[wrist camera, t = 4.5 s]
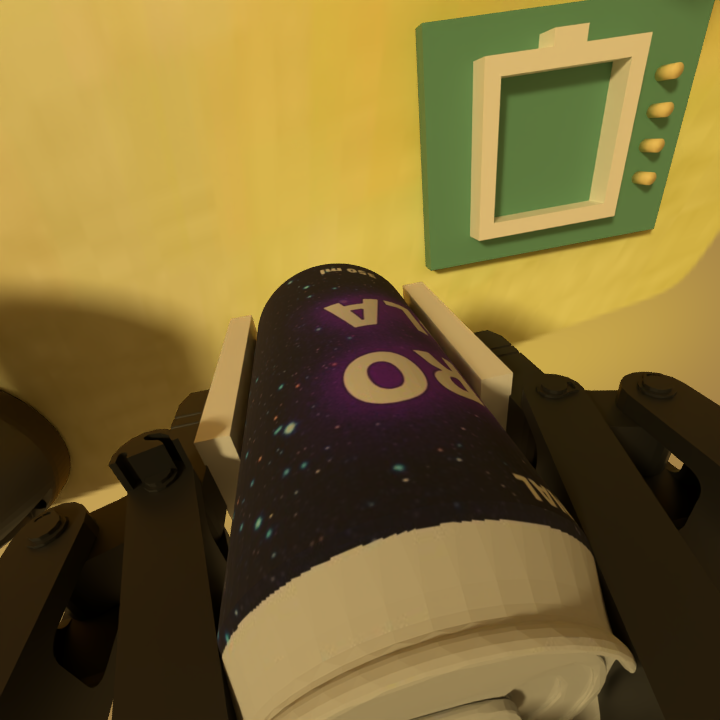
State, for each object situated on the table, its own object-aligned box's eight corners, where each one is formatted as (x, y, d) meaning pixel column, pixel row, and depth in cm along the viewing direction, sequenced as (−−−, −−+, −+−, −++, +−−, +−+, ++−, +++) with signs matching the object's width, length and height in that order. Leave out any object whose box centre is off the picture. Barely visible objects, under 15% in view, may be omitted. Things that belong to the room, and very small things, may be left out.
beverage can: (405, 375, 16) (608, 758, 6) (276, 399, 16) (265, 864, 6) (400, 245, 13) (765, 565, 3) (241, 268, 13) (86, 745, 3)
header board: (425, 266, 29) (437, 276, 26) (415, 28, 21) (431, 15, 19) (641, 225, 30) (670, 232, 28) (699, -11, 23) (746, -29, 20)
